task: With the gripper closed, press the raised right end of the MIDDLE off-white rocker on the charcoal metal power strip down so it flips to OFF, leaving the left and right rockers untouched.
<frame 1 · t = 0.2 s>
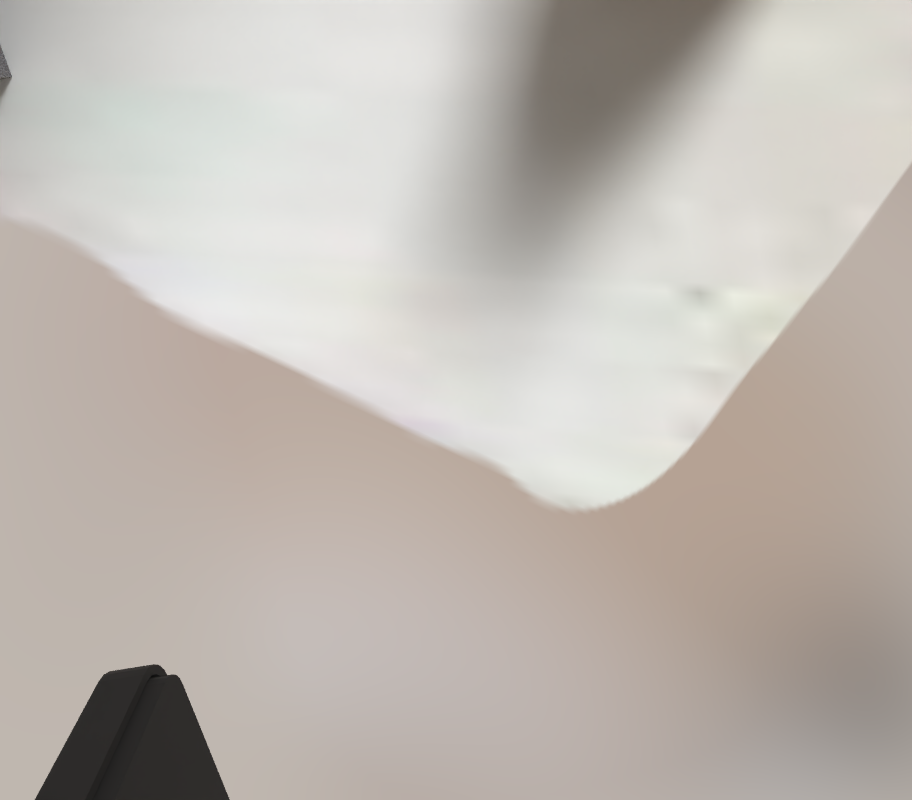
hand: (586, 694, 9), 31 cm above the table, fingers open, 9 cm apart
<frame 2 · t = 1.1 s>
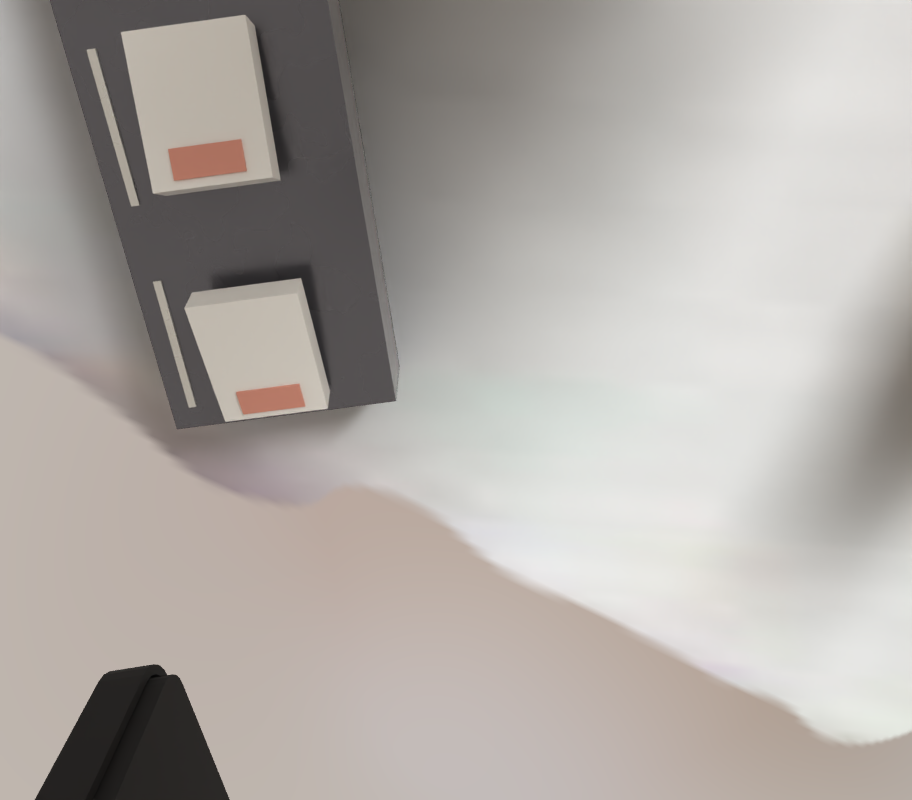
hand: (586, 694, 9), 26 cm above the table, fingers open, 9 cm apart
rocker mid: (203, 108, 26), point 5 cm above the table, hinge at -12.0°, touching power strip
power strip: (242, 111, 31), on the table
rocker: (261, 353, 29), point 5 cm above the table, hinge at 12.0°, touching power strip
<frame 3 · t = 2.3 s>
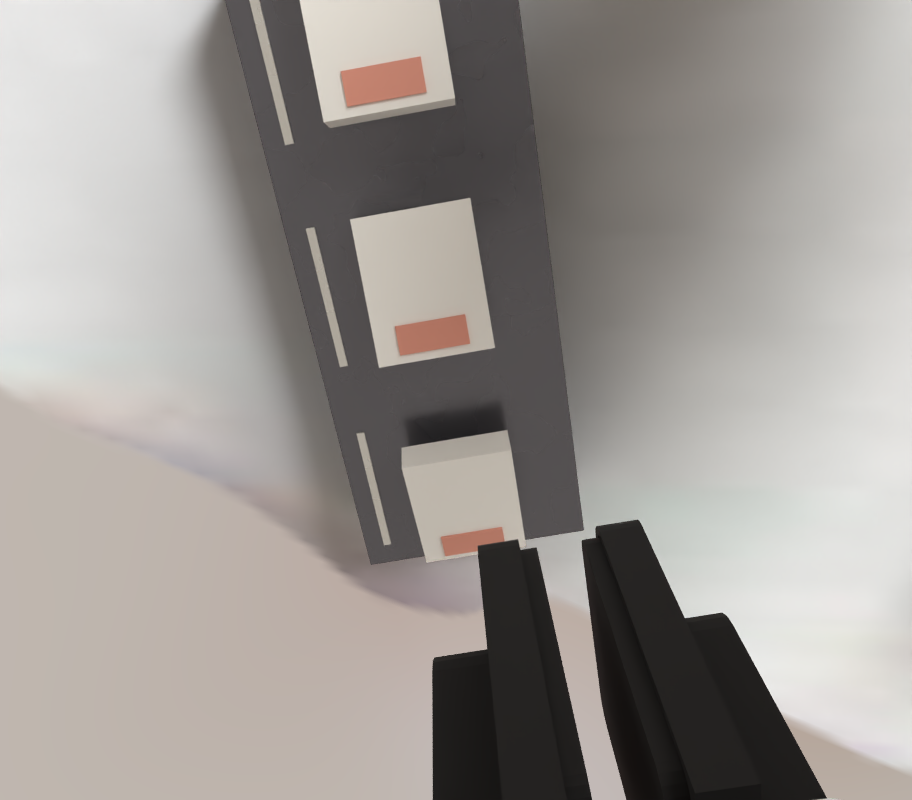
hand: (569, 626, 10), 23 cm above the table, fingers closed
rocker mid: (424, 283, 26), point 5 cm above the table, hinge at -12.0°, touching power strip
power strip: (426, 256, 31), on the table
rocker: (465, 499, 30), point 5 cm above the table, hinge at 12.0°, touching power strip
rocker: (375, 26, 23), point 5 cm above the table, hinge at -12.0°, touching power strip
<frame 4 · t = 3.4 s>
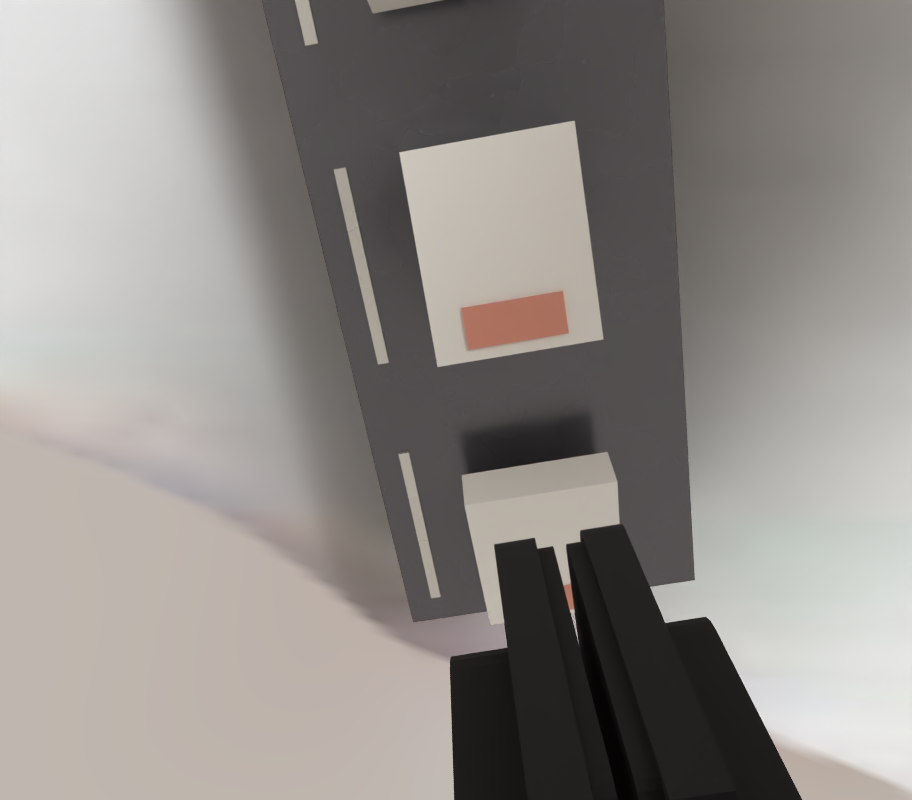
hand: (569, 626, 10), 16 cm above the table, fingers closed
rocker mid: (502, 247, 18), point 5 cm above the table, hinge at -12.0°, touching power strip
power strip: (490, 216, 24), on the table
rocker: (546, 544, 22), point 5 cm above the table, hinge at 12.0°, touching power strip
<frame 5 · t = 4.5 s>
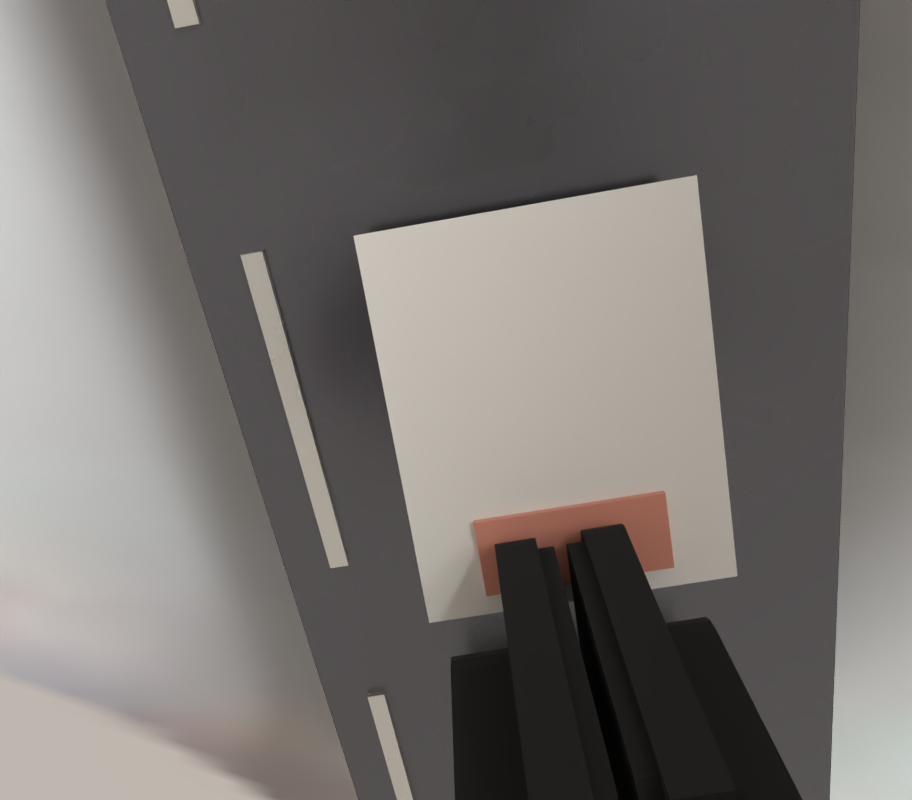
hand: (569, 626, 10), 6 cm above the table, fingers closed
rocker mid: (549, 403, 10), point 5 cm above the table, hinge at -11.6°, touching gripper, power strip
power strip: (514, 303, 15), on the table
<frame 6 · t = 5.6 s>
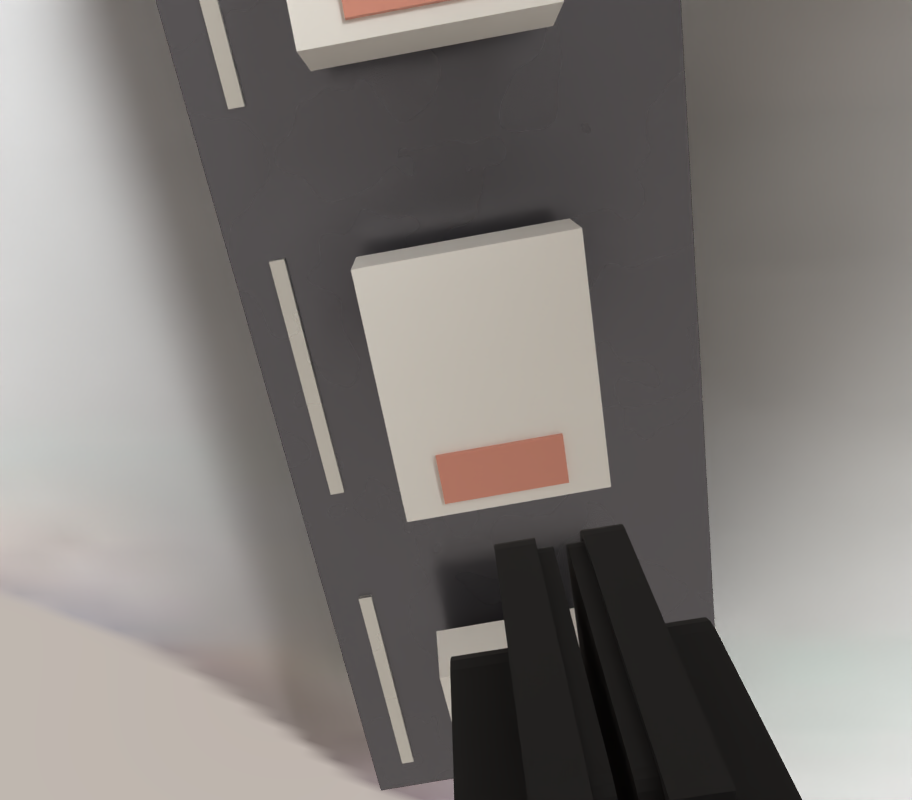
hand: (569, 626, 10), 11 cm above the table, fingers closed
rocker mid: (486, 375, 15), point 5 cm above the table, hinge at -1.1°, touching power strip
power strip: (469, 302, 20), on the table
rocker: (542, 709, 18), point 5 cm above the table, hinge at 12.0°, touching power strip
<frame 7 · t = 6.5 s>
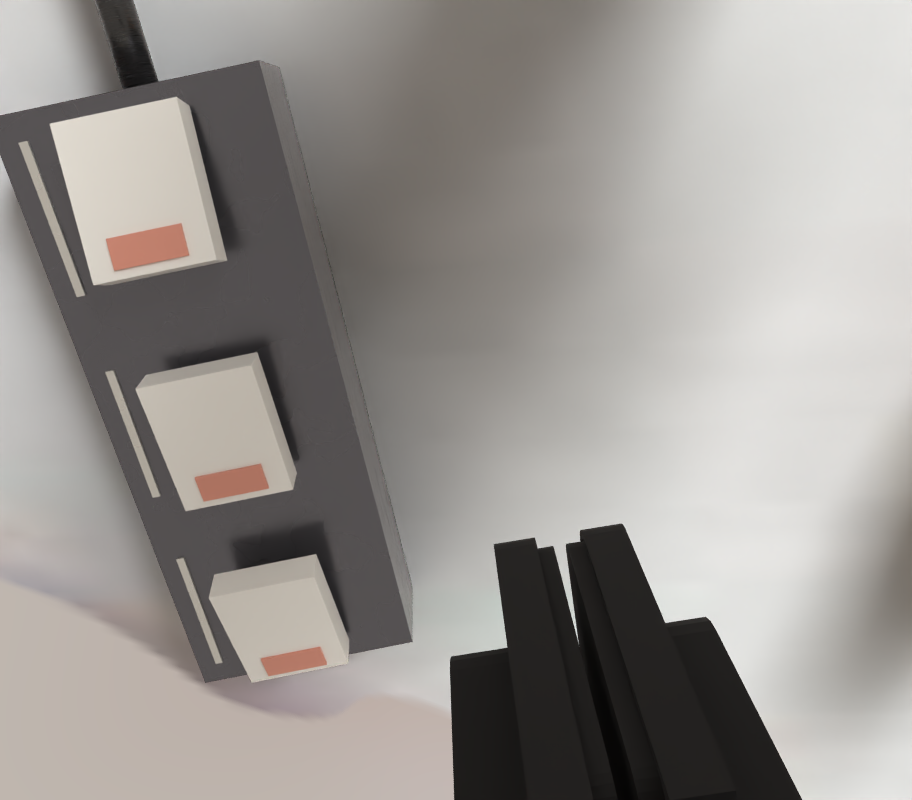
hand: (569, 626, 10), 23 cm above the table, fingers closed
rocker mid: (220, 433, 28), point 5 cm above the table, hinge at 5.0°, touching power strip
power strip: (249, 381, 33), on the table
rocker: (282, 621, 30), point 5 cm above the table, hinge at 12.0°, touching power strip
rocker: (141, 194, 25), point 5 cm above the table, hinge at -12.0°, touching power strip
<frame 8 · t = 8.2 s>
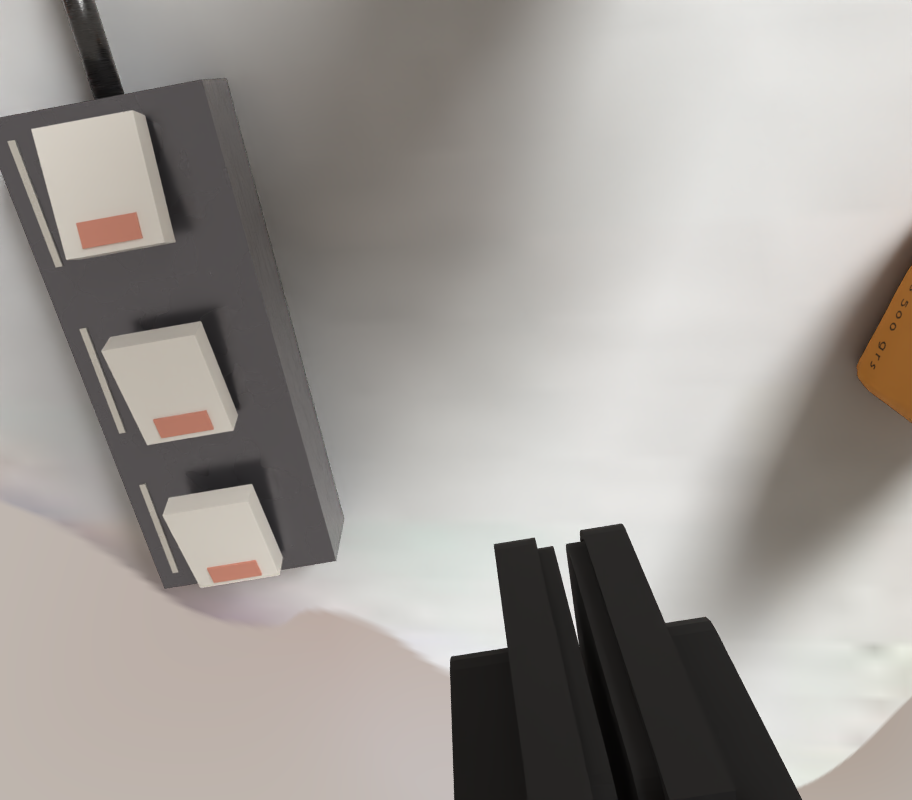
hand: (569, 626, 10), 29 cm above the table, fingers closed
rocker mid: (173, 385, 34), point 5 cm above the table, hinge at 10.8°, touching power strip
power strip: (204, 339, 39), on the table
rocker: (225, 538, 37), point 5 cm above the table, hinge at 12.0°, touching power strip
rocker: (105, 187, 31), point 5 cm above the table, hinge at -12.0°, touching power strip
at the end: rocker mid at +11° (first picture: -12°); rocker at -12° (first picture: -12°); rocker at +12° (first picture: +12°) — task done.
